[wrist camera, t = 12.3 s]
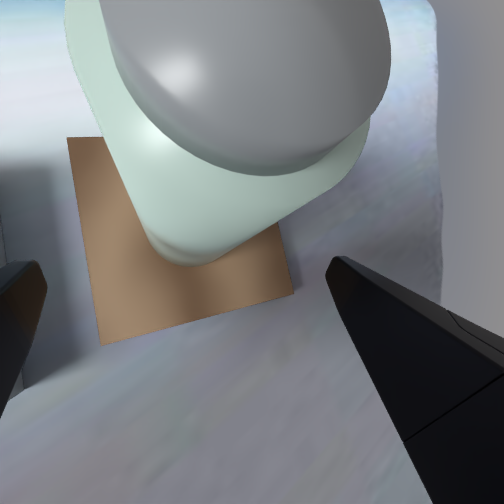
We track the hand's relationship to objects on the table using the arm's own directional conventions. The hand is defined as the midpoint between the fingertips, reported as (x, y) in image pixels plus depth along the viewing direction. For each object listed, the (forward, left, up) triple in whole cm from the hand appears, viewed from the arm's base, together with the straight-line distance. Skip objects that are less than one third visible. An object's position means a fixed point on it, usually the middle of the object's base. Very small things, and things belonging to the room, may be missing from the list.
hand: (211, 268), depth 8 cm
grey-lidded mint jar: (-1, -3, -8) cm, 9 cm away
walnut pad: (-1, -4, -9) cm, 9 cm away
